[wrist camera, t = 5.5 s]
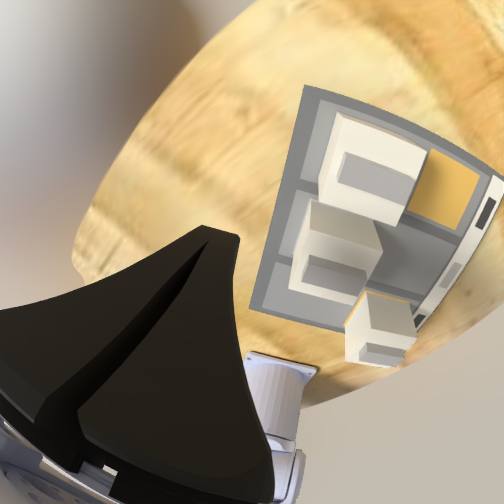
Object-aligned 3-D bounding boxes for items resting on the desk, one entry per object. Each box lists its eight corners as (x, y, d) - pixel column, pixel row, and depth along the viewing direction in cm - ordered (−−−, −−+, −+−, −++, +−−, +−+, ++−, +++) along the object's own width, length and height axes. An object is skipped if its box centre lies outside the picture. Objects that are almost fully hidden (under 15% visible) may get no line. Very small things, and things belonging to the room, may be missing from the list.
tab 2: (349, 269, 18) (353, 315, 14) (293, 253, 18) (286, 298, 14) (372, 219, 15) (386, 260, 12) (311, 200, 16) (308, 237, 12)
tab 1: (381, 198, 14) (399, 235, 11) (318, 177, 15) (318, 209, 11) (404, 137, 12) (433, 156, 9) (337, 111, 12) (346, 119, 9)
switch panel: (402, 333, 22) (405, 346, 21) (252, 296, 23) (248, 309, 22) (498, 173, 12) (510, 181, 11) (305, 85, 13) (304, 84, 12)
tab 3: (385, 335, 21) (390, 376, 17) (344, 326, 21) (345, 369, 17) (409, 303, 18) (420, 347, 15) (366, 292, 18) (372, 338, 15)
